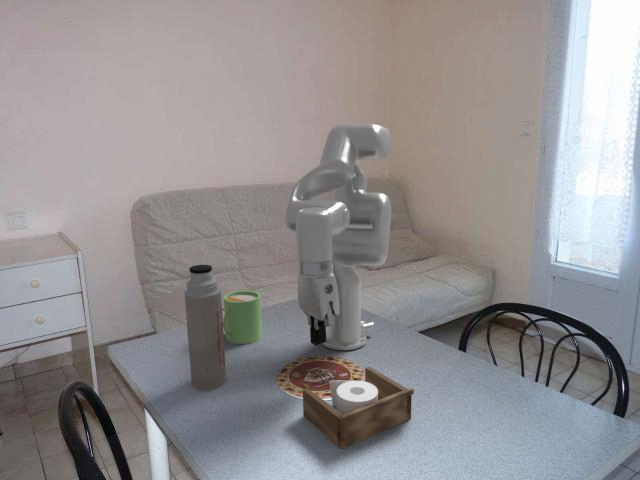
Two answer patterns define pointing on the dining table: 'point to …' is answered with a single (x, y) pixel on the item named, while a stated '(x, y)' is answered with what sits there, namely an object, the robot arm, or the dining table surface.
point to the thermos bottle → (205, 329)
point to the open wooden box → (360, 411)
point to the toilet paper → (352, 395)
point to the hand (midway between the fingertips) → (318, 342)
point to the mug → (242, 317)
